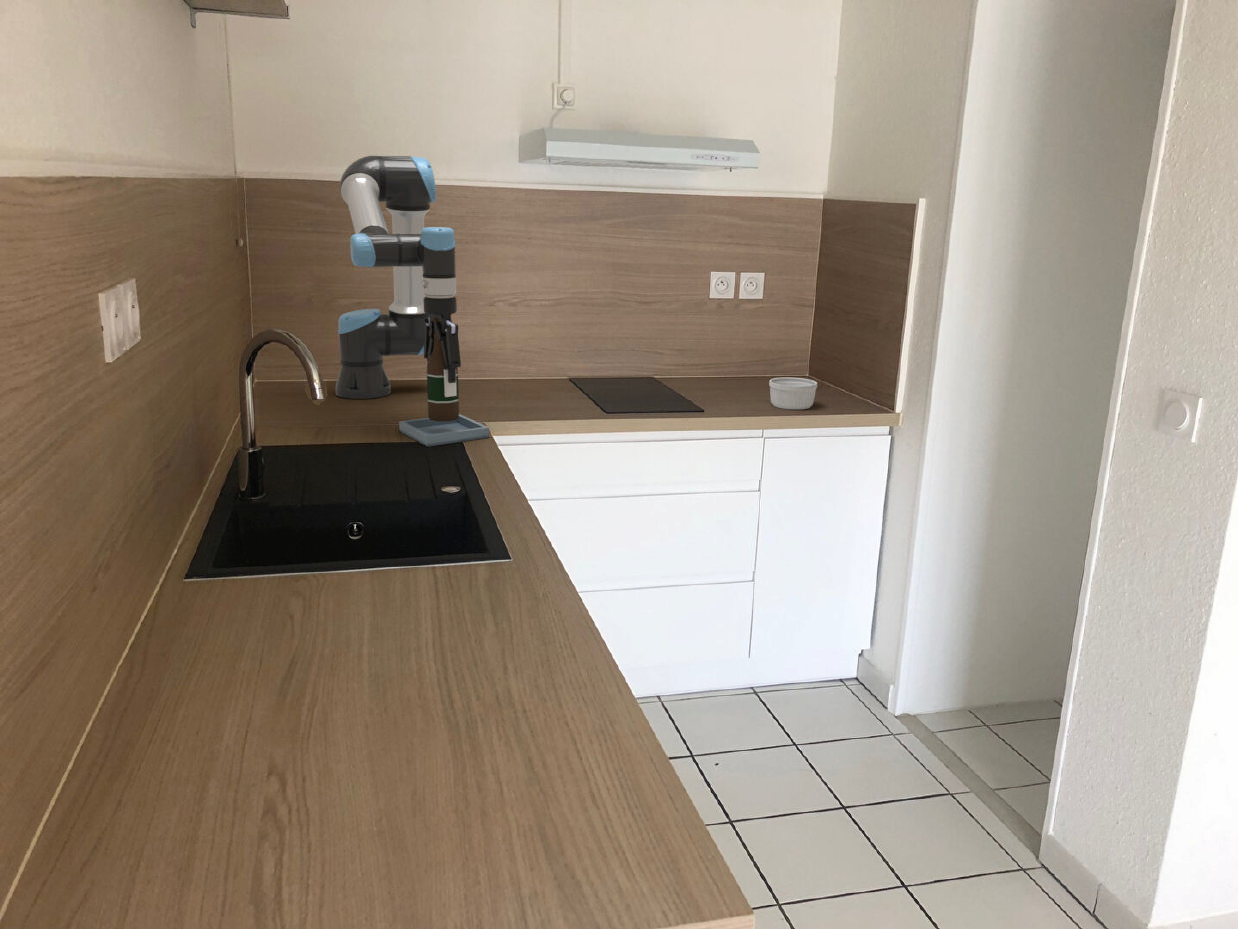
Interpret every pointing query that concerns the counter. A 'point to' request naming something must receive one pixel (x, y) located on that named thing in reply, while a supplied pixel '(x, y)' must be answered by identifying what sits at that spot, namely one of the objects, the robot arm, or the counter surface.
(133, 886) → the counter surface
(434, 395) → the beer bottle
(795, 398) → the ramekin
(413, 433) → the dish
